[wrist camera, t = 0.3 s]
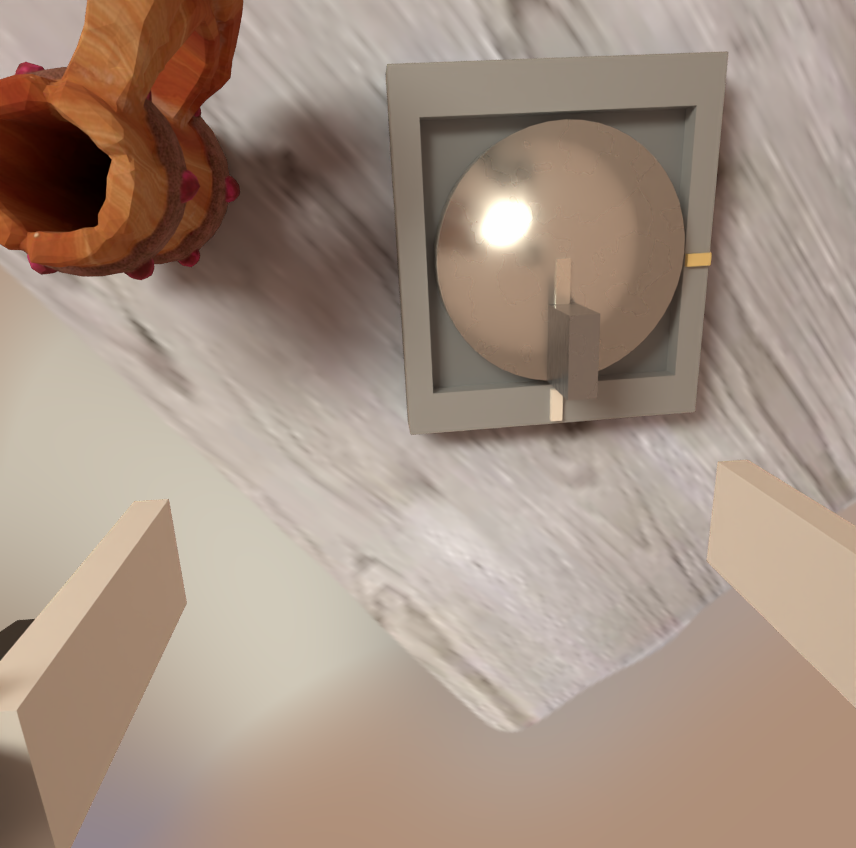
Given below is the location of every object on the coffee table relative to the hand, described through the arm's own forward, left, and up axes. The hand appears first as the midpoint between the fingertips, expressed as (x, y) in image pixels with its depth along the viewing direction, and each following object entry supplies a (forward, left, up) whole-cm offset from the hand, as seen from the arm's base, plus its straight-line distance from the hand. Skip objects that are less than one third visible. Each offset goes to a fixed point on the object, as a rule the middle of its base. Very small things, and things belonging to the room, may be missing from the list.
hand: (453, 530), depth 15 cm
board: (-4, +9, -25) cm, 27 cm away
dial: (-4, +9, -24) cm, 26 cm away
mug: (-11, -11, -26) cm, 30 cm away
